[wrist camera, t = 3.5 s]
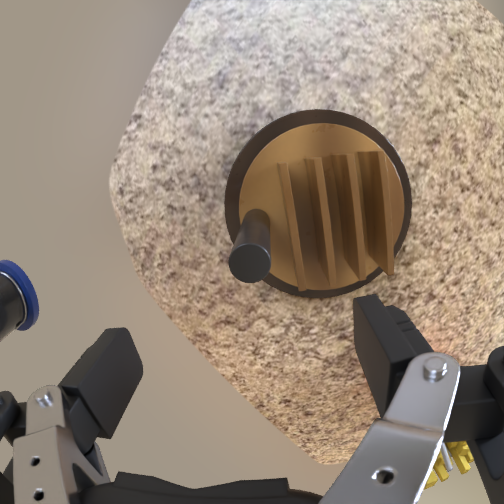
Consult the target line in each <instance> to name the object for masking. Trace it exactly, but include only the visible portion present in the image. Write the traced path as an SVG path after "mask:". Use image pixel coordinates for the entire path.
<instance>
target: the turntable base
mask: <svg viewBox="0 0 504 504" xmlns="http://www.w3.org/2000/svg"><path fill="white" fill-rule="evenodd" d="M318 123H327V124H337V125H341V126H345V127H348V128H351V129H354V130H356V131H358V132H360V133H362V134H364V135H365V136H367V137H368V138H370V139H371V140H372V141H374V142H375V143H376V144H377V145H378V146H379V147H380V148H381V149H382V150H384V151H385V153H386V155H387V156H388V157H389V158H390V160H391V162H392V163H393V165H394V167H395V169H396V171H397V173H398V176H399V178H400V181H401V185H402V189H403V195H404V216H403V223H402V227H401V231H400V234H399V236H398V239H397V241H396V243H395V245H394V247H393V253H394V258H395V256H396V255H397V253H398V251H399V250H400V248H401V246H402V244H403V242H404V240H405V237H406V234H407V231H408V228H409V223H410V218H411V209H412V197H411V188H410V183H409V178H408V175H407V172H406V169H405V167H404V165H403V162H402V160H401V158H400V156H399V155H398V153H397V152H396V150H395V149H394V147H393V146H392V145H391V144H390V142H389V141H388V140H387V139H386V138H385V137H384V136H383V135H382V134H381V133H380V132H379V131H378V130H376V129H375V128H374V127H372V126H371V125H369V124H368V123H366V122H365V121H363V120H361V119H359V118H357V117H354V116H352V115H349V114H346V113H343V112H338V111H333V110H320V109H315V110H305V111H300V112H296V113H291V114H289V115H286V116H284V117H281V118H279V119H277V120H275V121H273V122H271V123H270V124H268V125H266V126H265V127H264V128H262V129H261V130H260V131H259V132H257V133H256V134H255V135H254V136H253V137H252V138H251V139H250V140H249V141H248V142H247V144H246V145H245V146H244V148H243V149H242V150H241V152H240V153H239V155H238V157H237V159H236V160H235V162H234V164H233V166H232V169H231V172H230V174H229V177H228V181H227V186H226V191H225V202H224V204H225V218H226V223H227V228H228V231H229V235H230V238H231V240H232V242H233V245H234V243H235V240H236V238H237V235H238V232H239V229H240V227H241V224H240V216H239V199H240V192H241V188H242V184H243V181H244V178H245V175H246V173H247V171H248V169H249V167H250V165H251V164H252V162H253V160H254V159H255V157H256V156H257V155H258V154H259V153H260V151H261V150H262V149H263V148H264V147H265V146H266V145H267V144H268V143H270V142H271V141H272V140H274V139H275V138H276V137H278V136H279V135H281V134H283V133H285V132H287V131H289V130H291V129H294V128H297V127H300V126H304V125H309V124H318ZM382 272H383V270H382V269H381V267H380V266H379V267H377V268H376V269H375V270H374V271H373V272H372V273H370V274H369V275H367V276H366V280H362V281H357V282H355V283H353V284H350V285H348V286H345V287H341V288H337V289H330V290H311V289H306V290H305V291H299V289H298V287H297V286H294V285H291V284H289V283H286V282H284V281H282V280H281V279H279V278H277V277H275V276H274V275H273V274H271V273H270V272H269V273H268V274H267V276H266V277H265V278H264V279H262V280H263V281H265V282H266V283H268V284H269V285H271V286H273V287H275V288H277V289H278V290H280V291H283V292H286V293H289V294H292V295H296V296H301V297H308V298H328V297H334V296H339V295H343V294H346V293H349V292H352V291H354V290H356V289H359V288H361V287H362V286H364V285H366V284H367V283H369V282H371V281H372V280H373V279H375V278H376V277H377V276H378V275H380V274H381V273H382Z"/></svg>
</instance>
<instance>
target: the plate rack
mask: <svg viewBox="0 0 504 504" xmlns="http://www.w3.org/2000/svg"><path fill="white" fill-rule="evenodd" d="M239 216H240V224H241V227H240V229H239V232H238V235H237V238H236V240H235V243H234V246H233V248H232V251H231V254H230V257H229V268H230V271H231V273H232V274H233V275H234V277H236V278H237V279H238V280H240V281H242V282H245V283H255V282H258V281H260V280H262V279H264V278H265V277H266V276H267V274H268V273H269V272H270V273H271V274H273V275H274V276H275V277H277V278H279V279H281V280H282V281H284V282H286V283H289V284H291V285H294V286H297V287H298V289H299V291H305V290H306V289H311V290H330V289H337V288H341V287H345V286H348V285H350V284H353V283H355V282H357V281H362V280H366V276H367V275H369V274H370V273H372V272H373V271H374V270H375V269H376V268H377V267H379V266H380V267H381V269H382V270H383V271H384V272H385V273H386V274H387V275H393V274H394V253H393V247H394V245H395V243H396V241H397V239H398V236H399V234H400V231H401V227H402V223H403V216H404V195H403V189H402V185H401V181H400V178H399V176H398V173H397V171H396V169H395V167H394V165H393V163H392V162H391V160H390V158H389V157H388V156H387V155H386V153H385V151H384V150H382V149H381V148H380V147H379V146H378V145H377V144H376V143H375V142H374V141H372V140H371V139H370V138H368V137H367V136H365V135H364V134H362V133H360V132H358V131H356V130H354V129H351V128H348V127H345V126H341V125H337V124H327V123H318V124H309V125H304V126H300V127H297V128H294V129H291V130H289V131H287V132H285V133H283V134H281V135H279V136H278V137H276V138H275V139H274V140H272V141H271V142H270V143H268V144H267V145H266V146H265V147H264V148H263V149H262V150H261V151H260V153H259V154H258V155H257V156H256V157H255V159H254V160H253V162H252V164H251V165H250V167H249V169H248V171H247V173H246V175H245V178H244V181H243V184H242V188H241V192H240V199H239Z"/></svg>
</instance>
